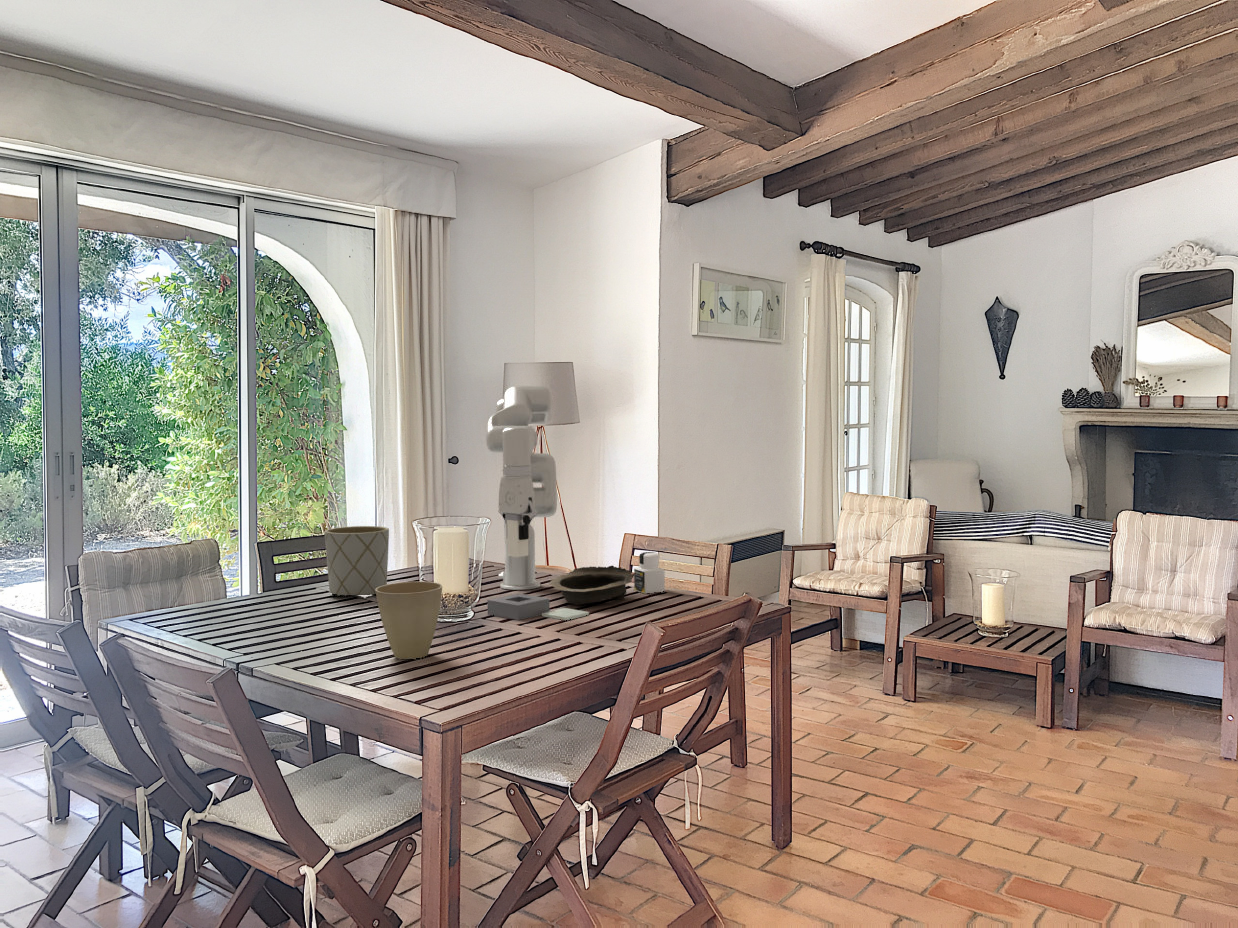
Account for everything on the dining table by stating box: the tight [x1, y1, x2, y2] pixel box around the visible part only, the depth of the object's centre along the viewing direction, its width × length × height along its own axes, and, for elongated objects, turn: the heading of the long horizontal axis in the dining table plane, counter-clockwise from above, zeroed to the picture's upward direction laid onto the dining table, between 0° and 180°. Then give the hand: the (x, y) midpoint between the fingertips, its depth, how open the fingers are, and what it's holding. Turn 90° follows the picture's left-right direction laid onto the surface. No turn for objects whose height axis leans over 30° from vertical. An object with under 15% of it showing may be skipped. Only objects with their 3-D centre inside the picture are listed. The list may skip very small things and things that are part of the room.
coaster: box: [541, 607, 590, 621], centre depth 263 cm, size 9×9×1 cm
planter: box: [324, 525, 390, 597], centre depth 297 cm, size 19×19×20 cm
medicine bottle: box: [633, 551, 666, 595], centre depth 298 cm, size 7×7×12 cm
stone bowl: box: [549, 565, 635, 606], centre depth 283 cm, size 25×25×9 cm
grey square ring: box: [486, 593, 550, 621], centre depth 266 cm, size 12×12×4 cm
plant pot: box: [375, 581, 443, 660], centre depth 220 cm, size 15×15×16 cm
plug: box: [505, 514, 528, 557], centre depth 266 cm, size 5×5×12 cm
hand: (517, 537), depth 266 cm, fingers closed on plug, 4 cm apart
